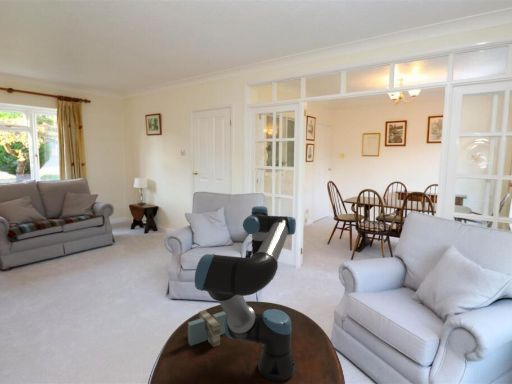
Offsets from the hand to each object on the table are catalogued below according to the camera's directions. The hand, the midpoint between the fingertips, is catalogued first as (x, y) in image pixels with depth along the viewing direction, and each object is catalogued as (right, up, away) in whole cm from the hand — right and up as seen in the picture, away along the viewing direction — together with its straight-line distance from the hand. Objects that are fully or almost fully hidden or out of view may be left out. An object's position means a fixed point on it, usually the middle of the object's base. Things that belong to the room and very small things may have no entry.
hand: (259, 281), depth 146 cm
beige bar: (-24, -27, 0) cm, 36 cm away
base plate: (-24, -27, 0) cm, 36 cm away
